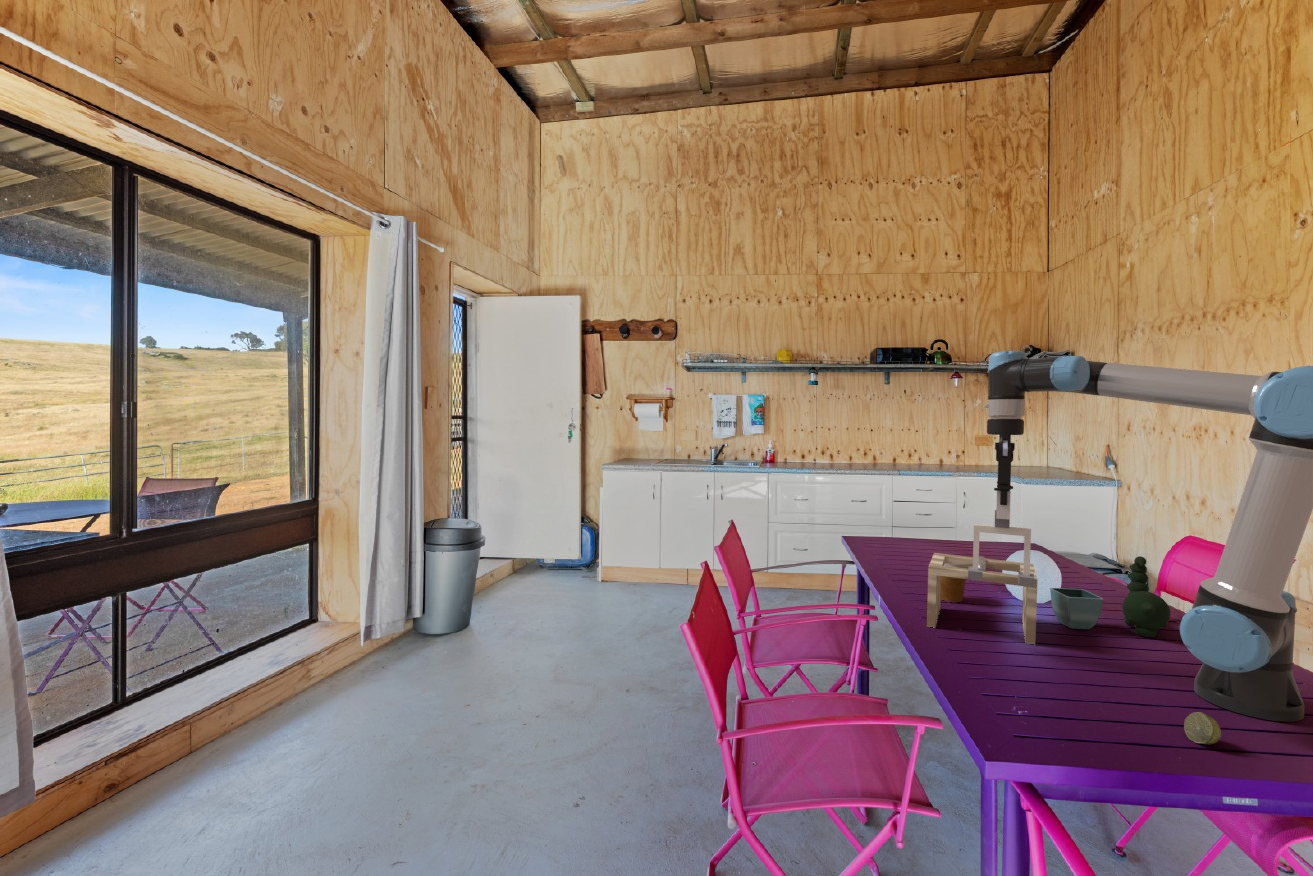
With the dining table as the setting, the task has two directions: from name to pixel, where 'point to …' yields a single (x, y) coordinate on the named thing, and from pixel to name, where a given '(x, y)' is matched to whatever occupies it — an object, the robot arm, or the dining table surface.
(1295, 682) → the robot arm
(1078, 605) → the flower pot
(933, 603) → the beige wooden frame
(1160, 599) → the dark green tiered figure
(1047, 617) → the dining table surface
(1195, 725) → the lime
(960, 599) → the disposable coffee cup
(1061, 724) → the dining table surface
